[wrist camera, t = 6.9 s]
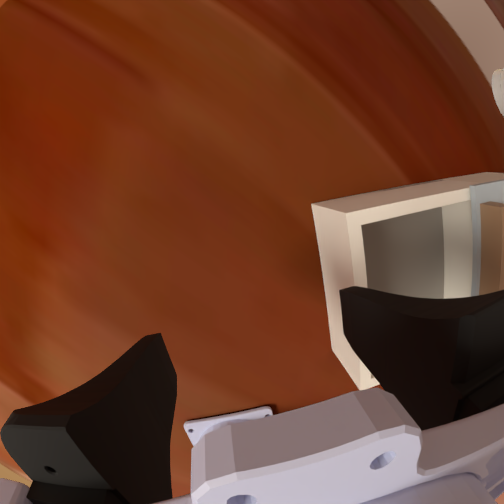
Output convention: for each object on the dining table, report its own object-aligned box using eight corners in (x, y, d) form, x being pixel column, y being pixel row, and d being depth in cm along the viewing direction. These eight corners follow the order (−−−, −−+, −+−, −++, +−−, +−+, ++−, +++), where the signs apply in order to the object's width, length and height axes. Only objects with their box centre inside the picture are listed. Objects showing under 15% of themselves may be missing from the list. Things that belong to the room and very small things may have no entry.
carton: (488, 286, 26) (527, 305, 20) (331, 349, 24) (360, 391, 19) (487, 172, 23) (532, 175, 17) (311, 203, 21) (345, 213, 16)
